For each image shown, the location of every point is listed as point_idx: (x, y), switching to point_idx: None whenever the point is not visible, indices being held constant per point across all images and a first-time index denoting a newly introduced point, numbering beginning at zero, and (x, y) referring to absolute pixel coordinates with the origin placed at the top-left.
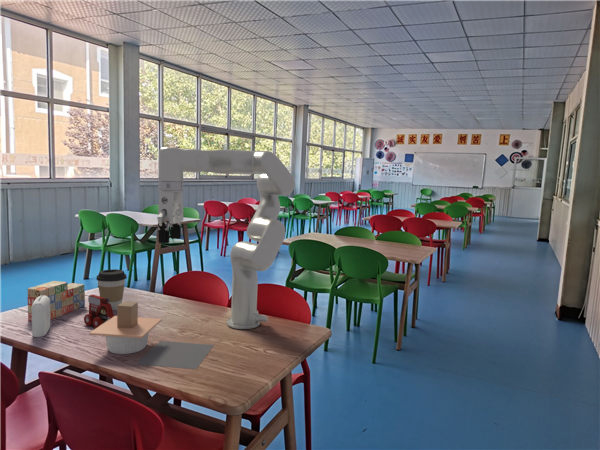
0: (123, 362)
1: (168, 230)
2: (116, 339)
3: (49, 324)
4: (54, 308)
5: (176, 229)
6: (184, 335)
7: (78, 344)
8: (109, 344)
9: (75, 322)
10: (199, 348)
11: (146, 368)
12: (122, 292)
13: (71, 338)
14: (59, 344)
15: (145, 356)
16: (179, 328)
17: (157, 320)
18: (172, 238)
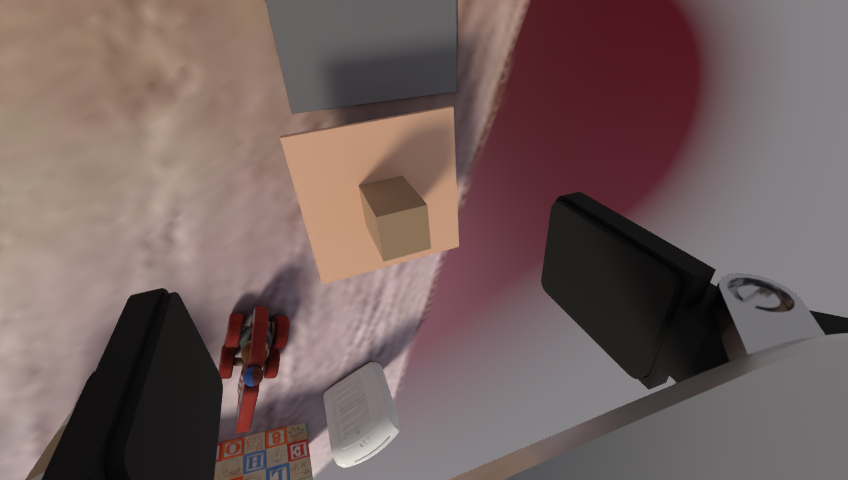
0: None
1: (700, 282)
2: None
3: (338, 391)
4: (269, 452)
5: (166, 458)
6: (192, 59)
7: (384, 282)
8: None
9: (270, 383)
10: None
11: (465, 52)
12: None
13: (360, 317)
14: (396, 310)
15: (410, 92)
16: (134, 116)
17: (304, 142)
18: (208, 366)
